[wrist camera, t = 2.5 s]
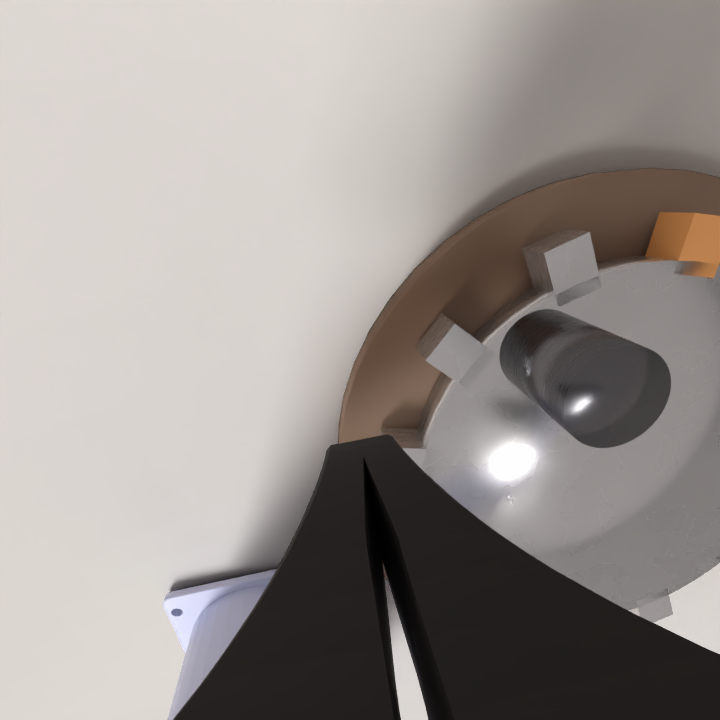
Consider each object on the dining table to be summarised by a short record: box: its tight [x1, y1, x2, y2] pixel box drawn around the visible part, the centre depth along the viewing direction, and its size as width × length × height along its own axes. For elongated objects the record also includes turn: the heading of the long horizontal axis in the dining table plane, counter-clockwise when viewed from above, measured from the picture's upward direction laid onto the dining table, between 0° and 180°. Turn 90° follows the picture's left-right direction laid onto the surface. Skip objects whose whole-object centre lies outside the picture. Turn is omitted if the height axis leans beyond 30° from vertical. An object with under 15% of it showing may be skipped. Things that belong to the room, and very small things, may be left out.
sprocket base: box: [338, 168, 720, 580], centre depth 19 cm, size 23×23×3 cm
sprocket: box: [379, 212, 720, 623], centre depth 16 cm, size 20×20×6 cm
